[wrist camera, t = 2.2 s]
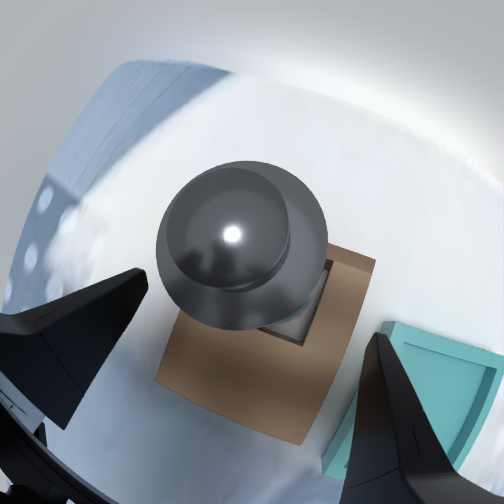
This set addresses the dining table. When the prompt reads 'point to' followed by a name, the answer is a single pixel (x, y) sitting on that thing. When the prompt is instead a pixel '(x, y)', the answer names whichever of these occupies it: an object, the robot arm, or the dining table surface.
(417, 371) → the tray
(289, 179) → the grey capped bottle
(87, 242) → the dining table surface
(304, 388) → the socket block
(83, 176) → the dining table surface
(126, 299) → the robot arm
